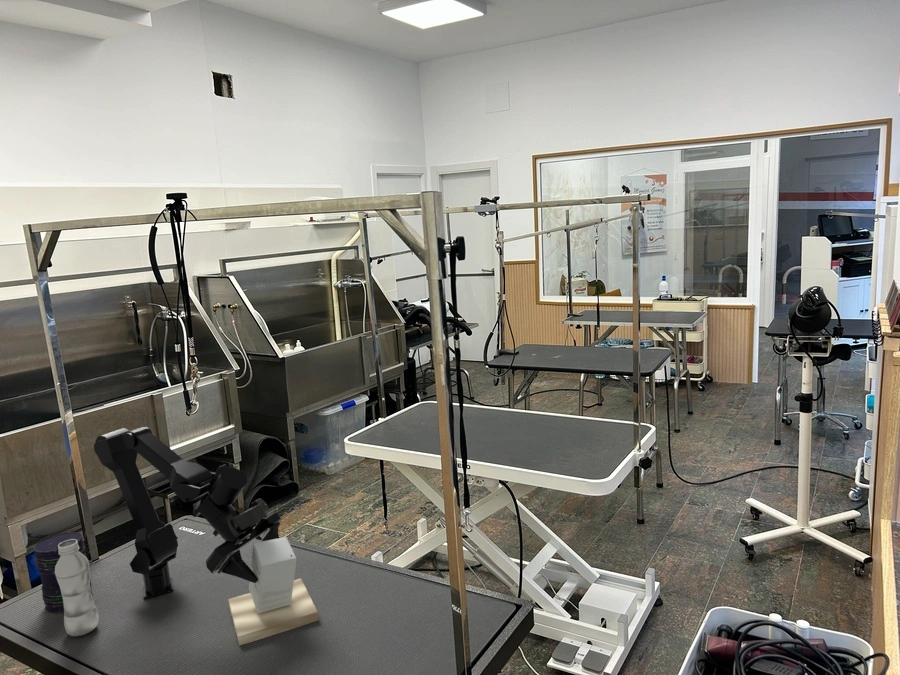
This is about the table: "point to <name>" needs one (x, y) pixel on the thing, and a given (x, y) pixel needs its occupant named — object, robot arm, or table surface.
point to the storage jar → (53, 569)
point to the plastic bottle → (75, 589)
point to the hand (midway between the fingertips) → (271, 570)
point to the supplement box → (272, 574)
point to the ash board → (271, 615)
